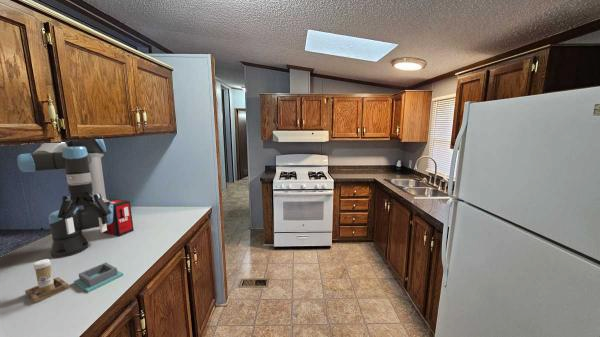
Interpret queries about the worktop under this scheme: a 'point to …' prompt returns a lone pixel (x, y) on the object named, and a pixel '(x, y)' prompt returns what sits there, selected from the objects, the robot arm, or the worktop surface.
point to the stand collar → (36, 299)
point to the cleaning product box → (120, 218)
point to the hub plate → (97, 277)
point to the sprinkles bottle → (44, 275)
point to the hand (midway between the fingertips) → (87, 232)
